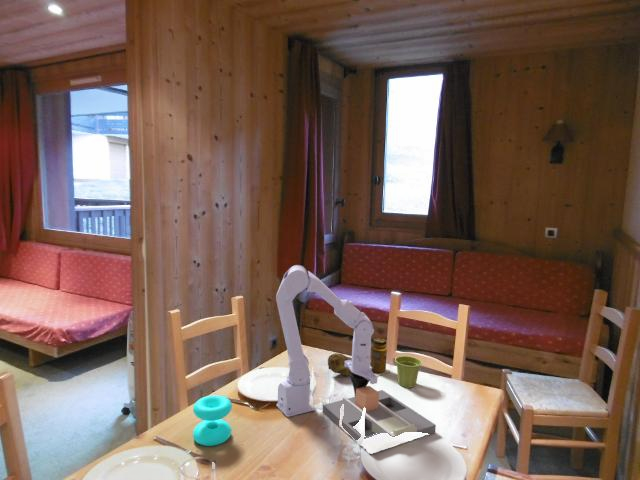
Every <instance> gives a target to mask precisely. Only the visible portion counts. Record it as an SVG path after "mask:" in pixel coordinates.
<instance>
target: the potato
mask: <svg viewBox="0 0 640 480" xmlns="http://www.w3.org/2000/svg"><path fill="white" fill-rule="evenodd" d="M347 360H351V361H352V357H349V356H346V355H345V354H343V353H333V354H331V355H329V356H328V358H327V365H328V370H330V371H332V372H333V373H336V374H340V375H342V376H349V374H352V372H351V371H350V369H349V368H348V367H345V361H347Z"/></svg>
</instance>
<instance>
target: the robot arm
mask: <svg viewBox="0 0 640 480" xmlns="http://www.w3.org/2000/svg"><path fill="white" fill-rule="evenodd" d="M304 290H305V292H307V293H316V294H317V295H318V296H319V297H321V298H322V299H323V300H324V301H326V303H328V304H329V305H330V306H332V308H333V313H334V315H335V316H336V317H337V318H339V319H340V320H341V322H343V323H344V324H346V326H348V327H349V328H351V329H352V330H353V336H352V337H353V338H352V347H351V350H352V351H351V358H352V361H351V360H347V361H345V367H348V368H349V369H350V371H351V372H352V374H349V375H348V377H349V379H350V381H351V383H352V387H353V392H354V397H356V389H358V388H362V387H366V386H368V384H369V383H370V384H371V385H374V384H378V376H375V375H374V373H373V372H372V371H371V370H372V367H371V366H370V357H371V347H372V336H373V334H374V332H375V329H374V325H373V323H372V321H371V319H370V318H369V317H368V316H367V314H366V313H365V312H363V311H362V312H361V310H359V309H358V308H357V307H356V306H355V303H354V302H353V301H352V300H348V299H346V298H345V299H341V298H339V296H337V295H336V294H335V293H334V292H333V291H332V290H331V289H330V288H329V287H328V286H327V285H326V284H325V283H324V282H322V280H321V279H320V278H319V277H317V276H316V275H315V274H314V273H312V272H311V271H309V270H307V269H306V268H305V267H304V266H303V265H300V264H295V265H293V266H291V267H289V268H288V269H287V271H286V272H285V273H284V274H283V277H282V280H281V283H280V285H279V288H278V290H277V292H276V294H275V295H276V296H275V301H276V304H277V305H276V306H277V310H278V315H279V320H280V323H281V328H282V333H283V337H284V341H285V347H286V350H287V355H288V371H289V372H288V375H287V377H286V380H285V381H283V382H281V383H279V385H278V387H277V403H276V407H277V408H278V409H279V410H280V412H281V413H283V414H284V416H285V417H287V418H289V417H294V416H297V415H300V414H304V413H308V412H313V411H316V410H315V409H316V408H315V407H313V405H311V403H310V397H311V396H310V394H311V393H310V392H311V372H310V368H309V359H308V357H306V355H305V353H304V350H303V345H302V342H301V341H302V340H301V337H300V332H299V327H298V323H297V318H296V313H295V309H294V302H293V300H294V299H295V297H297V295H298V294H299V293H301V292H303V291H304Z"/></svg>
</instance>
